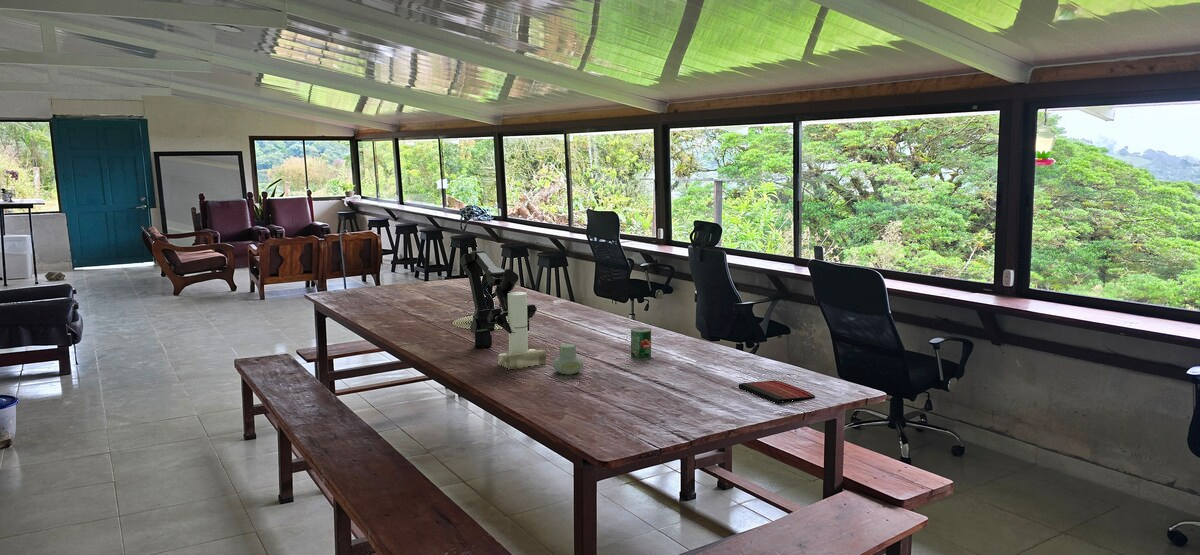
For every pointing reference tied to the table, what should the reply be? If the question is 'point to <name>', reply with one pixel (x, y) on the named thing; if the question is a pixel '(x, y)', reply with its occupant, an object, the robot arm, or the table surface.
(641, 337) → the canned tomato
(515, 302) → the cylindrical container
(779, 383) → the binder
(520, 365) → the wooden holder
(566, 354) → the air freshener
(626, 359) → the table surface
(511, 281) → the robot arm
